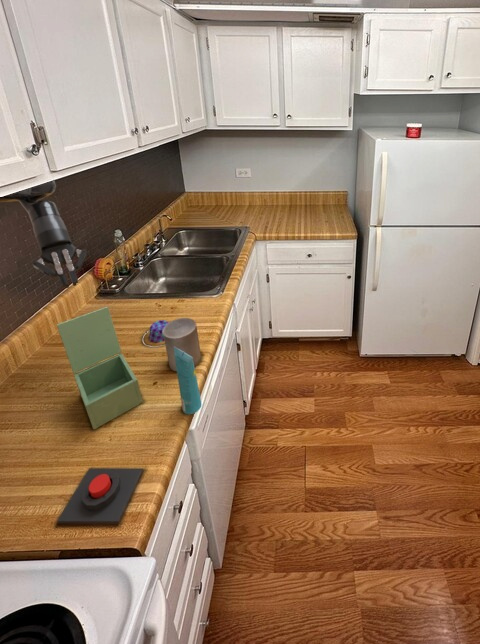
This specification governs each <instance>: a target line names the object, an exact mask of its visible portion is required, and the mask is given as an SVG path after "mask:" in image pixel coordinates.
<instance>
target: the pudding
mask: <svg viewBox="0 0 480 644" xmlns="http://www.w3.org/2000/svg"><path fill="white" fill-rule="evenodd" d="M168 323H169V321H167V320H165V319H160V320H157V321H154V322H153V323H152V324H151V325H150V326H149V330H148V332H149V333H148V339H149V342H151V343H156V344H158V343H161V342H165V341H164V336H163V333H162V331H163V329H164V327H165V326H166V325H167V324H168ZM145 336H146V334H144V335H143V336H142V343H143V344H144V345H145V346H147V347H149V348H150V347H151V348H156V347H159V345H157V346H153V345H152V346H151V345H147V344H146V343H145V342H144V337H145ZM162 346H164V344H163V345H160V347H162Z"/></svg>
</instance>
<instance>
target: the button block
mask: <svg viewBox="0 0 480 644" xmlns="http://www.w3.org/2000/svg"><path fill="white" fill-rule="evenodd" d="M143 473H144V469H143V468H130V467H129V468H127V467H126V468H125V467H123V468H121V467H120V468H116V467H115V468H113V467H110V468H104V467H103V468H95V467H94V468H93V467H91V468H88V470H87V471H86V473H85V474H84V476H83V478H82V480H81V481H80V483H79V484H78V485H77V487H76V489H75V491H74V492H73V494H72V496H71V497H70V499H69V500H68V502H67V504H66V505H65V506H64V508H63V510H62V512H61V514H60V515H59V517H58V518H57V520H56V522H57V525H120V523H121V521H122V519H123V518H124V515H125V513H126V510H127V508H128V506H129V504H130V502H131V499H133V498H132V497H133V495H134V493H135V491H136V490H137V487H138V485H139V482H140V480H141V478H142V476H143ZM102 474H106V475H108V476H109V478H110V481H111V487H110V489H109V490H108V492H107V493H106V494H105V495H103V496H102V497H100V498H93V497H92V496H91V494H90V491H89V485H90V483H91V482H92V481H93V479H95V478H96V477H97V476H99V475H102Z"/></svg>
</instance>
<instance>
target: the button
mask: <svg viewBox="0 0 480 644" xmlns="http://www.w3.org/2000/svg"><path fill="white" fill-rule="evenodd" d="M110 487H111V481H110V478H109V476H108V475H106V474H102V475H99V476H97V477H96V478H95V479H93V481H92V482H91V483H90V485H89V491H90V494H91V496H92V497H93V498H100V497H102V496H103V495H105V494H106V493H107V492H108V490H109V489H110Z"/></svg>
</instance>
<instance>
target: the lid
mask: <svg viewBox="0 0 480 644" xmlns="http://www.w3.org/2000/svg"><path fill="white" fill-rule="evenodd" d="M56 327H57V330H58V333H59V335H60V339H61V342H62V345H63V347H64V349H65V350H64V351H65V354H66V356H67V359H68V362H69V365H70V368H71V371H72V373H73V374H76V373H78V372H80V371H83V370H85V369H87V368H89V367H92V366H94V365H96V364H98V363H101V362H103V361H105V360H107V359H110V358H112V357H114V356H116V355H119V354H121V353H122V348H121V345H120V343H119V339H118V335H117V333H116V328H115V325H114V322H113V319H112V315H111V312H110V308H109V306H104V307H102V308H100V309H96V310H94V311H91V312H88V313H85V314H82V315H79V316H77V317H74V318H71V319H68V320H66V321H65V320H64V321H63V322H62V321H61V322H60V323H57V324H56Z"/></svg>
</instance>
